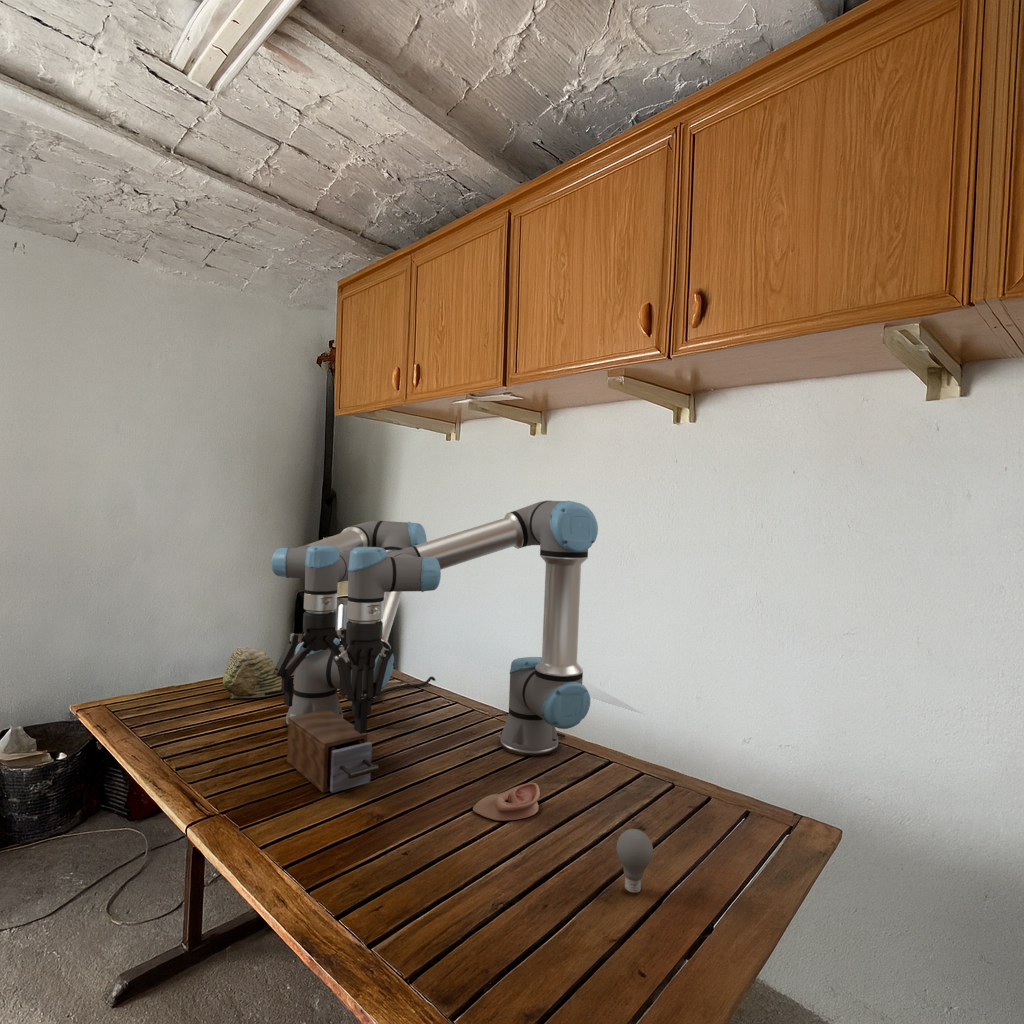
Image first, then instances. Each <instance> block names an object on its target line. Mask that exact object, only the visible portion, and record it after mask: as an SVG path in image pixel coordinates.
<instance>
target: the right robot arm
mask: <svg viewBox="0 0 1024 1024" xmlns="http://www.w3.org/2000/svg"><path fill="white" fill-rule="evenodd" d="M598 533H599V525H598V521H597V518H596V515H595V514H594V512H593V511H592V510H591V509H590V508H589V507H588V506H586V505H585V504H583V503H581V502H577V501H573V500H542V501H538V502H535V503H532V504H530V505H527V506H524V507H521V508H519V509H516V510H513V511H510V512H506V514H505V515H504V517H503V518H499V519H496V520H494V521H490V522H487V523H484V524H480V525H478V526H474V527H471V528H468V529H467V528H466V529H464V530H461V531H458V532H457V531H456V532H455V533H451V534H447V535H444V536H441V537H438V538H434V539H431V540H429V541H428V540H427V542H425V543H421V544H418V545H415V546H412V547H408V548H405V549H402V550H390V551H387V552H386V551H385V549H384V548H379V547H356V548H353V549H352V550H351V552H350V559H349V568H348V581H347V602H346V619H347V622H346V624H345V625H346V627H345V629H346V645H345V647H344V651H343V652H342V653H341V654H340V655H335V656H334V657H333V660H334V661H335V663H336V665H337V666H338V672H339V677H340V682H341V687H342V692H343V696H342V697H343V698H344V699H345V700H347V701H349V702H351V705H352V709H351V716H352V718H353V717H354V730H355V731H357V732H359V733H360V734H361V733H368V716H370V715H371V713H372V703H371V702H372V701H374V698H375V697H376V696H379V695H380V692H381V691H382V689H381V688H382V684H383V680H384V676H385V672H386V668H387V664H388V661H389V659H390V657H391V656H392V653H393V651H392V650H391V649H390V650H388V649H386V648H384V647H383V643H382V641H381V638H382V633H383V622H382V621H381V619H382V618H383V603H384V592H397V591H402V592H421V593H425V592H432V591H433V592H434V591H435V590H437V589H438V588H439V586H440V583H441V576H442V574H441V573H442V570H445V569H447V568H450V567H454V566H457V565H461V564H463V563H466V562H469V561H472V560H475V559H479V558H481V557H484V556H489V555H491V554H494V553H496V552H500V551H503V550H506V549H509V548H515V549H517V550H518V549H523V548H525V547H531V546H539V557H540V558H541V559H542V560H543V561H544V563H545V576H544V597H543V598H544V599H543V602H544V603H543V620H542V623H543V624H542V646H541V647H542V648H541V649H542V650H541V656H525V657H518V658H515V659H513V660H512V661H511V663H510V669H509V689H508V692H509V693H508V715H507V718H506V721H505V724H504V726H503V729H502V730H501V732H500V734H499V736H500V739H499V740H500V742H499V744H500V747H501V748H502V749H503V750H505V751H506V752H509V753H510V754H514V755H518V756H523V757H542V756H547V755H551V754H554V753H555V752H556V751H557V750H558V749H559V737H560V738H566V734H563V733H560V732H557V729H560V730H568V729H571V728H573V727H576V726H577V725H579V724H580V723H581V721H582V720H584V719H585V718H586V717H587V715H588V712H589V710H590V707H591V694H590V692H589V689H587V687H586V686H585V685H584V684H583V678H584V674H583V673H584V669H583V668H582V667H581V665H580V664H579V663H578V651H579V650H578V648H579V647H578V646H579V624H580V601H581V599H580V598H581V577H582V565H583V564H584V563H585V561H587V559H588V558H589V549H590V548H591V547H592V546H593V544H594V543H595V542H596V540H597V537H598V535H599V534H598ZM378 655H379V657H378V660H377V663H376V667H375V660H376V658H377V656H378ZM347 656H348V658H349V659H350V661H351V667H352V685H351V680H350V674H349V669H348V666H347V664H346V663H347V662H348V660H347ZM374 668H375V672H374ZM373 675H374V676H373ZM362 678H363V685H362ZM380 696H381V695H380ZM380 696H379V697H380ZM556 728H557V729H556Z"/></svg>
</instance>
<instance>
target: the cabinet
mask: <svg viewBox="0 0 1024 1024" xmlns="http://www.w3.org/2000/svg"><path fill="white" fill-rule="evenodd" d="M354 726H355V724H353V723H351V722H349V721H348V720H346V719H345V718H344V717H343V718H342V717H340V716H338V715H337V714H335V713H334V712H332V711H330V710H329V709H327V710H322V711H317V712H312V713H307V714H302V715H297V716H292V717H289V718H288V727H287V746H286V747H287V748H286V750H287V751H286V762H287V763H288V764H289V765H290V766H291V767H292V768H294V769H295V770H296V771H297V772H298V773H300V774H301V775H302V776H304V778H305V779H306V780H308V782H310V783H311V784H312V785H314V787H316V788H317V789H318V790H319V791H320V792H321V793H327V792H331V791H330V785H329V784H328V783H327V775H328V750H329V747H330V746H335V745H339V744H343V743H347V742H351V741H356V740H361V741H363V743H366V742H368V732H366V733H361V734H360V733H359V732H357V731H355V730H354Z"/></svg>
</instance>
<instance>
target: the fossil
mask: <svg viewBox="0 0 1024 1024" xmlns="http://www.w3.org/2000/svg"><path fill="white" fill-rule="evenodd" d="M276 665H277V664H276V663H275V662H274V660H273V659H272V658H271V657H270V656H269V655H268V654H267V653H266V652H265V650H264V649H263V648H260V647H258V648H251V647H247V646H246V647H245V646H238V647H237V648H236V649H235V650H233V651H232V653H231V656H230V657H229V659H228V660H227V663H226V666H225V668H224V671H223V675H222V676H223V677H222V685H223V687H224V688H225V690H226V691H228V693H229V698H230V699H250V698H264V697H271V696H275V695H281V694H284V693H285V692H284V691H282V689H281V684H282V677H279V676H277V675H275V674H274V673H273V671H274V669H275V667H276Z"/></svg>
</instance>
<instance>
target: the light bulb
mask: <svg viewBox="0 0 1024 1024" xmlns="http://www.w3.org/2000/svg"><path fill="white" fill-rule="evenodd" d="M615 849H616V854H617V857H618V859H619V861H620V863H621V865H622V867H623V873H624V874H623V875H624V876H625V878H624V888H625V890H627V891H628V892H630V893H634V894H635V893H639V892H640V891H641V889H642V887H641V886H642V879H643V877H644V875H645V871H646V868H647V867H648V866H649V864H650V863H651V861H652V859H653V855H654V847H653V843H652V841H651V838H649V836H648V835H647V834H646V833H645V832H643V831H642V830H641V829H636V828H629V829H627V830H625V831H623V832H622V833H621V834H620V835H619V837H618V839H617V841H616V847H615Z"/></svg>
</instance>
